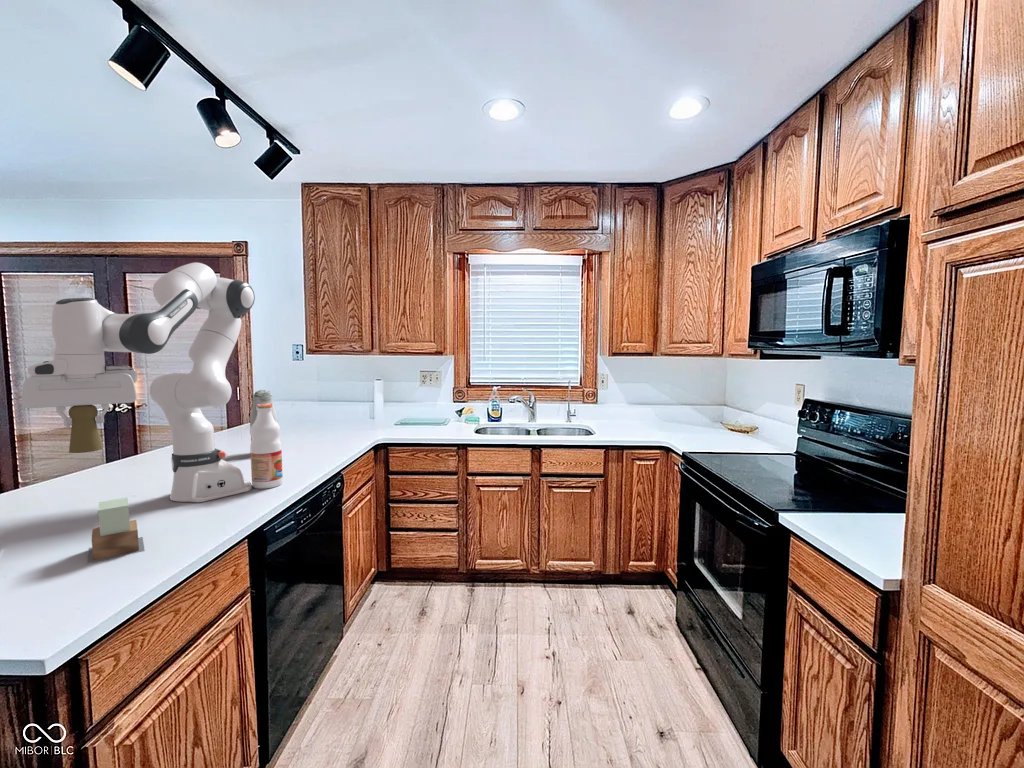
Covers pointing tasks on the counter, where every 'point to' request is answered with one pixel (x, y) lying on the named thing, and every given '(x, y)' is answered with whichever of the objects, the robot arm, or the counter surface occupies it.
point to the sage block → (113, 516)
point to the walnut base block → (114, 542)
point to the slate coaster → (141, 548)
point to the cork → (84, 429)
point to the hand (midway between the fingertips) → (84, 424)
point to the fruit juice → (265, 449)
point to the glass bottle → (261, 398)
